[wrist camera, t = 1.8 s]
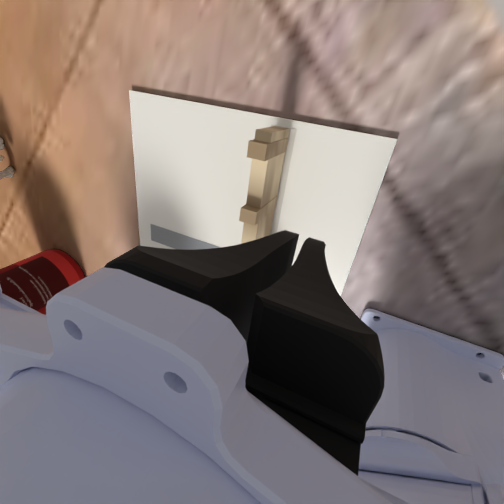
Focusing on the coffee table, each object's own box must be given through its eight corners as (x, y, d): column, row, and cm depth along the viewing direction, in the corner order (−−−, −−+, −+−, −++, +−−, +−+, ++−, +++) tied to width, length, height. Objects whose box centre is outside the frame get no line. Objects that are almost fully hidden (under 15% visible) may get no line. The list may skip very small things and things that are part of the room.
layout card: (397, 138, 17) (397, 139, 17) (327, 331, 25) (326, 334, 25) (131, 90, 23) (128, 90, 23) (143, 260, 31) (141, 261, 31)
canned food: (50, 286, 41) (-45, 337, 32) (40, 237, 37) (-73, 280, 28) (91, 308, 39) (2, 369, 30) (86, 260, 35) (-19, 314, 26)
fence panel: (266, 259, 24) (246, 283, 21) (253, 255, 24) (232, 278, 21) (290, 128, 19) (268, 133, 16) (274, 125, 19) (249, 130, 16)
